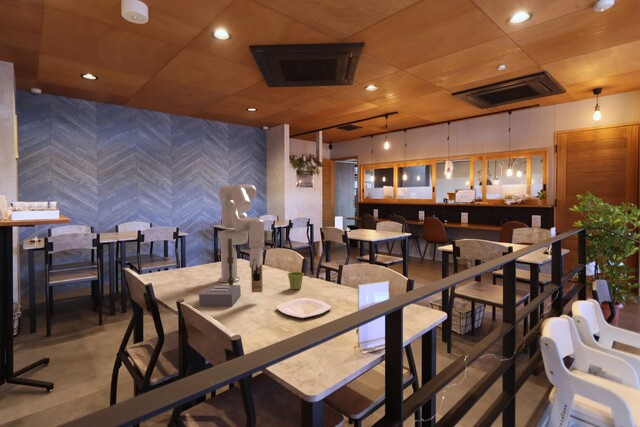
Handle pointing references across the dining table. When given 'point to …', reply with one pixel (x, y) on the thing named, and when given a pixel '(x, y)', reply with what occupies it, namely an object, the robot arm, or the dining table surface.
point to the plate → (297, 311)
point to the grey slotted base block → (220, 296)
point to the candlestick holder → (230, 261)
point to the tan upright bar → (257, 285)
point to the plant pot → (295, 279)
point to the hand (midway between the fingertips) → (256, 279)
